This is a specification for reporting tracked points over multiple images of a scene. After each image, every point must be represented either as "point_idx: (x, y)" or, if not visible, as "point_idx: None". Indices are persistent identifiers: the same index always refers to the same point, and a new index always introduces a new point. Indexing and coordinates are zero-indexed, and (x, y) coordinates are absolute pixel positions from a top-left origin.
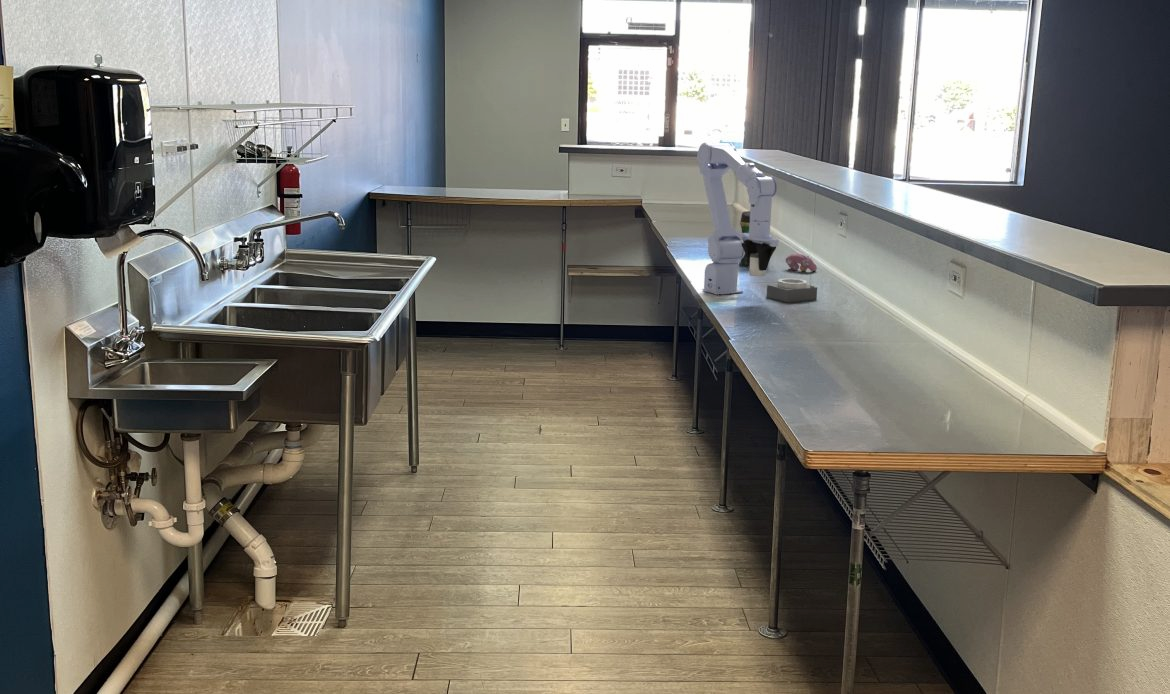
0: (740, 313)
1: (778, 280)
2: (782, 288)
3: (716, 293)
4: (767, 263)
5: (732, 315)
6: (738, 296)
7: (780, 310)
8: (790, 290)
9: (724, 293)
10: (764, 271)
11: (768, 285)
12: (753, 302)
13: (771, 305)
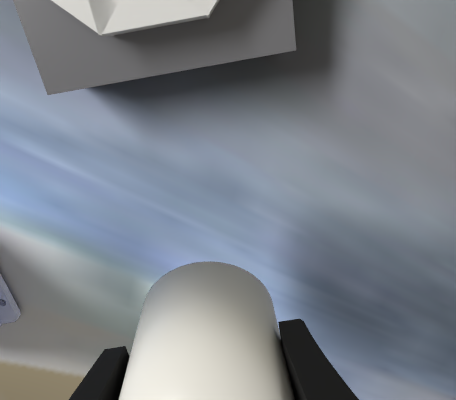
0: (406, 363)
1: (69, 10)
2: (215, 48)
3: (11, 321)
4: (331, 377)
5: (420, 395)
6: (52, 233)
7: (442, 194)
8: (291, 14)
9: (3, 285)
10: (268, 310)
11: (63, 91)
12: (221, 230)
13: (320, 179)
